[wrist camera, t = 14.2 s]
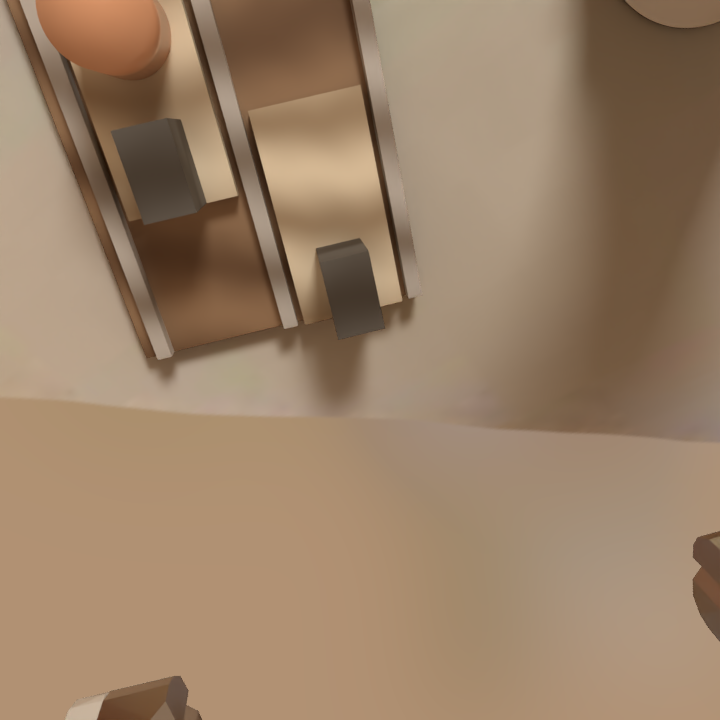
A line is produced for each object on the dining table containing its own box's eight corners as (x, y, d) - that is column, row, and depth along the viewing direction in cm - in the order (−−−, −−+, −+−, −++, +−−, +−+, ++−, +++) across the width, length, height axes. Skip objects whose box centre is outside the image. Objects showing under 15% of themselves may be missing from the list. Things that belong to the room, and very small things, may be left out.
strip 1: (41, -33, 32) (-6, -64, 27) (165, -61, 32) (143, -96, 27) (132, 219, 37) (108, 233, 32) (239, 194, 37) (231, 204, 32)
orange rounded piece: (63, -10, 32) (16, -40, 26) (153, -30, 32) (125, -64, 26) (98, 89, 33) (61, 81, 28) (183, 69, 34) (163, 58, 28)
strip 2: (248, 111, 36) (242, 108, 31) (358, 85, 36) (370, 78, 31) (304, 320, 41) (307, 347, 36) (399, 297, 41) (415, 320, 36)
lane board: (1, -31, 33) (-17, -40, 31) (344, -107, 33) (348, -121, 31) (149, 353, 42) (143, 363, 40) (416, 288, 42) (422, 295, 41)
